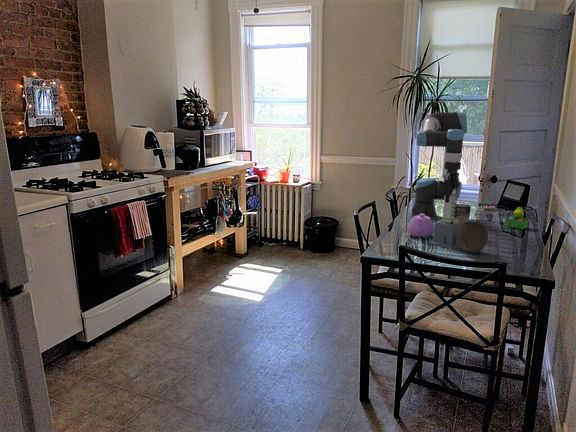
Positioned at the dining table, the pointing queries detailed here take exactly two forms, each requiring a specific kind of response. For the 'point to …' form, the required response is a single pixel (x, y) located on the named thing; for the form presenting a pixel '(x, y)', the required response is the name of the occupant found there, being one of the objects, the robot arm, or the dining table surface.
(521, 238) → the dining table surface
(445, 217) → the column
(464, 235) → the brown round ball
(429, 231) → the teapot
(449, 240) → the stand base
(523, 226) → the fruit basket
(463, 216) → the coffee box
